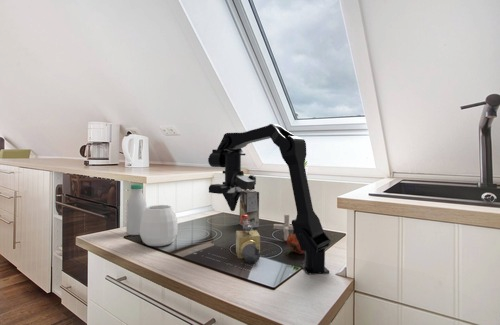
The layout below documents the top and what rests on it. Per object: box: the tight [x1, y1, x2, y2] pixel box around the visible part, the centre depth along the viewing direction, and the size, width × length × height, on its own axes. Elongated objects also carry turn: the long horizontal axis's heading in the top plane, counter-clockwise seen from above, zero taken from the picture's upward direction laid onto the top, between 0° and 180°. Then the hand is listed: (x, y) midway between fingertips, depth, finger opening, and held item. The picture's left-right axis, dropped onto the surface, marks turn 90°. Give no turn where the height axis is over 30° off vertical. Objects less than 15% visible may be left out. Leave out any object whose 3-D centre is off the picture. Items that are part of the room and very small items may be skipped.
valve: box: [235, 229, 261, 265], centre depth 97 cm, size 17×7×8 cm, turn 9°
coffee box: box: [239, 189, 260, 229], centre depth 136 cm, size 9×6×16 cm
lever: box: [239, 214, 254, 231], centre depth 103 cm, size 15×3×3 cm, turn 7°
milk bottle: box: [125, 183, 148, 236], centre depth 120 cm, size 8×8×20 cm
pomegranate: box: [286, 232, 305, 256], centre depth 99 cm, size 7×7×10 cm
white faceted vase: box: [139, 204, 179, 247], centre depth 107 cm, size 13×13×14 cm
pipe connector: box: [273, 213, 293, 242], centre depth 114 cm, size 10×10×10 cm
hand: (232, 210), depth 106 cm, fingers closed
